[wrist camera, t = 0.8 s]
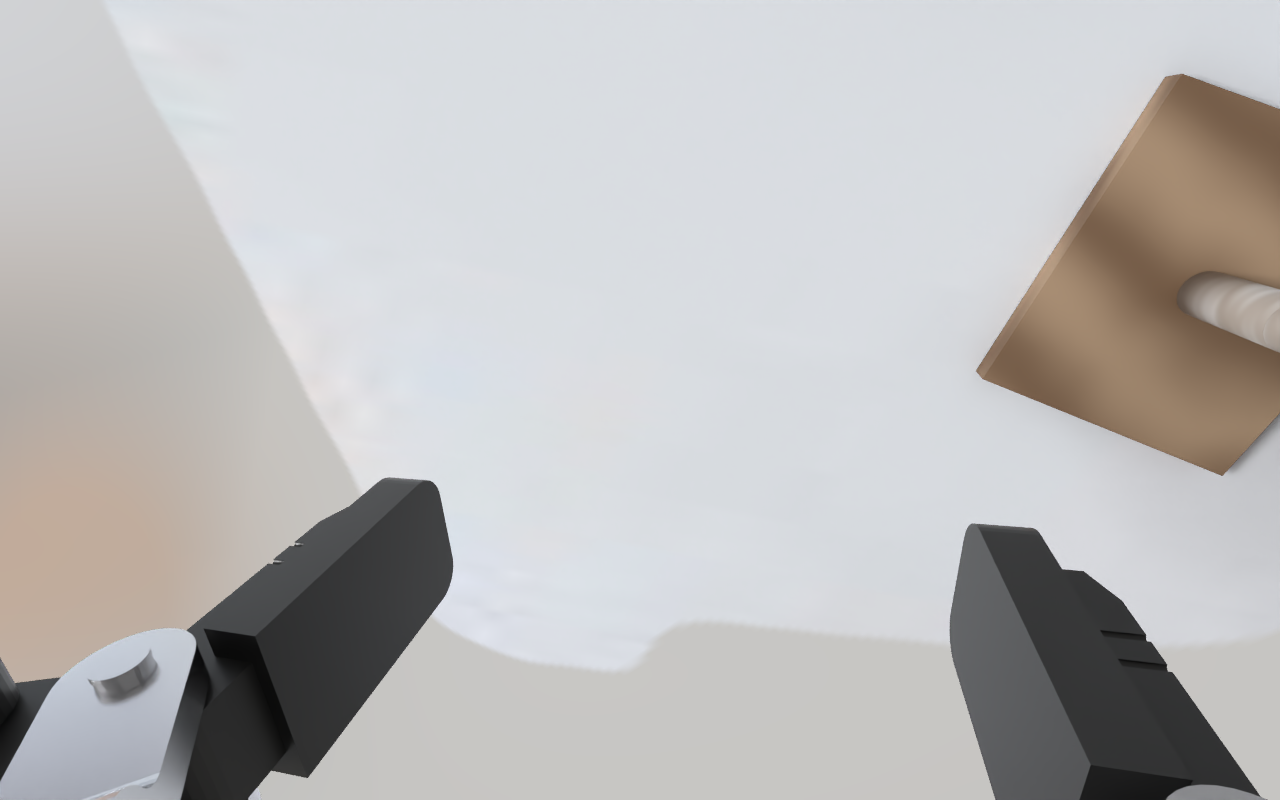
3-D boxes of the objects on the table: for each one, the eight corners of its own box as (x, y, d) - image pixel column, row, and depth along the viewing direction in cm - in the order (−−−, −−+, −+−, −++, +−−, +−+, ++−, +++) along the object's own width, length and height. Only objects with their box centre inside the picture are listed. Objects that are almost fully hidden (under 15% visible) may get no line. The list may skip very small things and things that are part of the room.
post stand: (1165, 77, 25) (1306, 49, 19) (1457, 183, 25) (1719, 197, 18) (975, 371, 31) (1029, 434, 24) (1206, 464, 31) (1329, 557, 24)
